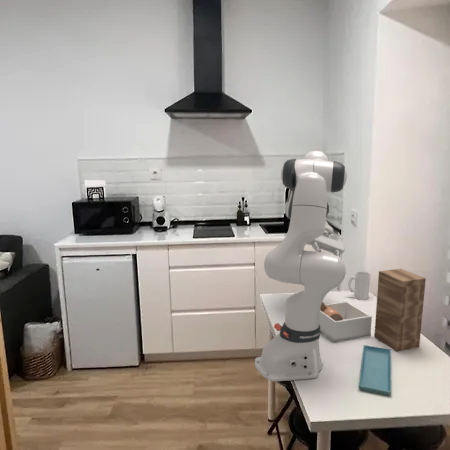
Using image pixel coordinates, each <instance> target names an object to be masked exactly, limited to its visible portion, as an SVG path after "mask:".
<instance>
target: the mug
mask: <svg viewBox="0 0 450 450" xmlns="http://www.w3.org/2000/svg"><path fill="white" fill-rule="evenodd" d="M354 274H355V275H350V278H349V279H348V284H347V285H348V289H349V291H350V293H354V298H355V299H357V300H360V301H366V300H368V299H369V294H370V285H371V284H370V283H371V282H370V281H371V273H370V272H368V271H355V273H354ZM353 280H354V288H352V285H351V284H352V281H353Z"/></svg>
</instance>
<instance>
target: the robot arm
mask: <svg viewBox="0 0 450 450" xmlns="http://www.w3.org/2000/svg"><path fill="white" fill-rule="evenodd" d="M346 169H347V168H346V166H345V165H344V164H343V163H342V162H339V161H336V160H334V161H330V160H329V157H328V156H327V154H325V153H324V152H323V151H320V150H312V151H309V152H307V153H306V154H305V155H304V156H303V158H302V159H301V158H299V159H296V158H291V159H287V160H286V161H285V162H283V166H282V167H281V172H280V179H281V181H282V185H283V186H284V187H285V188H286V189H289V190H288V196H287V199H286V201H285V203H284V212H285V213H284V214H285V216H286V217H287V219H289V220H290V221H289V225H288V231H287V233H286V235H285V236H284V238H283V240H281V242H280V243H279V244H278V245H277V246H276V247H274V248H273V249H271V250H270V251H269V252H268V253H267V255H266V256H265V259H264V261H263V268H264V272H265V274H266V276H267V277H268V278H269V279H270V280H275V281H276V282H280V283H286V284H294V285H301V286H302V287H304V289H303V290H302V291H299V292H297V293H294V294H292V295H289V297H288V298H287V299H286V301H285V303H284V304H285V308H284V311H285V312H284V321H283V323H282V325H280V323H278V322H277V323H275V324H274V326H273V328H274V329H275V330H276V331H279V333H278V334H277V335H276V336H274V337H273V338H272V339H271V340H269V341H268V342H267V343H265V344H264V346H263V348H262V350H261V351H262V352H261V356H257V357H256V358H255V359H254V366H255V367H254V368H255V369H256V370H257V372H258V374H260V375H261V376H262V377H264V378H265V379H266V380H268V381H270V382H284V381H285V382H286V381H297V380H309V379H310V380H311V379H316V378H318V376H319V372H320V371H321V370H322V368H323V362H322V358H321V352H320V350H321V349H320V341H319V340H320V337H321V332H320V324H319V317H320V308H321V304H322V302H324V298H325V297H327V295H328V294H329V292H331V291H333V289H336V288H337V287H339V286H341V284H342V283H343V282H344V280H345V277H346V272H347V270H346V265H345V261H343V259H342V257H340V256H341V255H342V254H343V253H344V252H345V250H346V248H345V245H344V242H343V240H342V238H341V237H340V236H341V235H340V232H338V231H337V230H336V229H334V228H333V227H332V226H331V225H329V223H328V221H327V216H328V214H329V213H330V206H329V203H328V192H329V193H332V194H333V193H338V192H341V191H342V190H343V189H344V187H345V185H346V182H347V179H348V173H347V170H346ZM306 245H310V246H311V247H312V249H313V250H314V251H311V250H305V247H306ZM322 250H323V252H322ZM324 251H326V252H324Z"/></svg>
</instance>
